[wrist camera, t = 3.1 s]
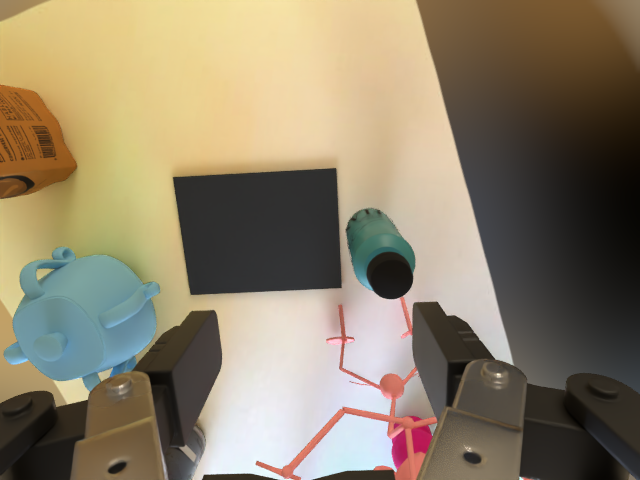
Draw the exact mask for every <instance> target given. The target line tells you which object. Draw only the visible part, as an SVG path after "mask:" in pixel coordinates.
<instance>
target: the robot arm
mask: <svg viewBox="0 0 640 480" xmlns="http://www.w3.org/2000/svg"><path fill="white" fill-rule="evenodd" d="M412 350H413V358H414V362H415V366H416V368H417V371H418V373H419V376H420V378H421V381H422V383H423V386H424V389H425V391H426V394H427V396H428V399H429V401H430V404H431V406H432V409H433V411H434V414H435V417H436V419H437V422H438V423H437V426H436V429H435V431H434V434H433V437H432V439H431V442H430V444H429V447H428V450H427V452H426V455H425V458H424V460H423V463H422V465H421V468H420V471H419V473H418V476H417V479H416V480H519V477H523V478H528V479H532V480H628V479H629V474H631V475H632V476H633V477H634V478H635V479H636V480H640V394H638V393H637V392H636V391H634V390H633V389H631V388H630V387H628V386H627V385H625V384H623V383H621V382H619V381H617V380H614V379H612V378H609V377H606V376H602V375H597V374H591V373H579V374H574V375H571V376H570V377H568V379H567V381H566V387H565V390H559V389H553V388H547V387H540V386H536V385H532V384H528V383H527V378H526V376H525V375H524V374H523V373H522V371H521V370H519V369H518V368H516V367H515V366H513V365H511V364H509V363H506V362H503V361H499V360H495V358H494V357H493V356H492V355H491V353H490V352H489V351H488V349H487V348H486V347H485V345H484V344H483V343H482V342H481V340H479V338H478V336H477V335H476V334H475V333H474V331H473V330H472V329H471V327H470V326H469V325H468V323H467V322H465V321H463V320H462V319H460V318H458V317H457V316H455V315H453V316H447V315H446V314H445V312H444V311H443V309H442V308H441V306H440V305H439V303H438V302H415V303H414V304H413V328H412ZM221 364H222V349H221V342H220V334H219V327H218V319H217V314H216V312H215V311H214V310H207V311H191V312H190V313H189V315H188V316H187V317H186V318H185V320H184V321H183V322H182V323H181V325H180V326H175V327H173V328H171V329H170V330H168V331H167V332H165V333H163V334H162V335H161V337H160V338H159V339H158V340H157V341H156V342H155V345H153V346H152V347H151V348H150V350H149V352H147V353H146V354H145V355H144V357H143V358H142V359H141V360H140V361H139V362H138V364H137V365H136V366H135V367H134V368H133V370H132V371H131V372H125V373H121V374H117V375H114V376H112V377H109V378H107V379H105V380H104V381H102V382H100V383H99V384H98V385H96V386H95V387H94V388H93V389H92V390H91V392H90V394H89V397H88V400H85V401H81V402H77V403H73V404H68V405H64V406H59V407H56V405H55V401H54V397H53V395H52V393H50V392H47V391H34V392H28V393H24V394H21V395H18V396H15V397H13V398H10V399H8V400H6V401H4V402H2V403H0V480H192V478H193V476H194V473H195V471H196V468H197V466H198V463H199V461H200V459H201V457H202V455H203V452H204V450H205V445H206V442H205V437H204V434H203V432H202V431H201V429H200V428H199V427H198V426H197V425H196V424H195V423H196V421H197V419H198V417H199V415H200V413H201V410H202V408H203V406H204V404H205V402H206V400H207V398H208V395H209V393H210V391H211V389H212V387H213V385H214V383H215V380H216V378H217V376H218V374H219V372H220V369H221ZM202 480H278V479H273V478H268V477H264V476H259V475H254V474H216V475H204V476H203V479H202ZM313 480H395V475H394V470H364V471H344V472H340V473H337V474H333V475H329V476H325V477H321V478H317V479H313Z"/></svg>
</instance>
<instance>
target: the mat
mask: <svg viewBox="0 0 640 480" xmlns="http://www.w3.org/2000/svg"><path fill="white" fill-rule="evenodd" d="M173 181H174V188H175V194H176V201H177V207H178V214H179V220H180V227H181V234H182V240H183V247H184V253H185V260H186V266H187V273H188V279H189V286H190V293H191V295H199V294H221V293H243V292H264V291H286V290H307V289H329V288H342V287H341V264H340V242H339V219H338V196H337V174H336V168H333V169H315V170H297V171H279V172H261V173H243V174H225V175H207V176H189V177H173Z"/></svg>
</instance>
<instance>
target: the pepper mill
mask: <svg viewBox="0 0 640 480" xmlns="http://www.w3.org/2000/svg"><path fill="white" fill-rule="evenodd" d="M409 417H411V418H412V419H413V420H414V422H416V421H420V420H423V419H421V418H419V417H415V416H409ZM403 418H404V417H403ZM399 425H401V424H397V423H394V429H395V428H397V427H398V426H399ZM411 433H412V441H413V450H414V453H418V452H422V453H424V454H426V452H427V450H428V447H429V444H430V442H431V439H432V437H433V436H432V434H431V432H430V429H429V426H428V425H426V426H422V427H418V428H414V429H412V430H411ZM392 443H393V446H392V458H393V461H394V464H395V466H396V468H397V470H398V468H399V467H400V466H401V464H402V463H403V462H404V461H405V460H406V459H407V458H408V453H407V444H406V434H405V429H404V430H403V431H401V432H400V433H399V434H398V435H396V436H395V437H394V438H393V439H392Z"/></svg>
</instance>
